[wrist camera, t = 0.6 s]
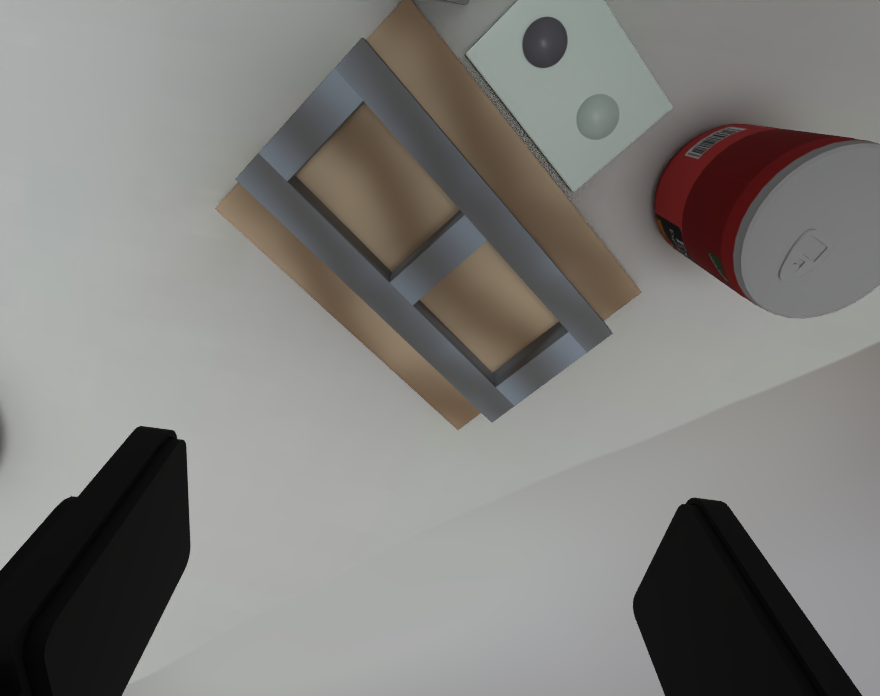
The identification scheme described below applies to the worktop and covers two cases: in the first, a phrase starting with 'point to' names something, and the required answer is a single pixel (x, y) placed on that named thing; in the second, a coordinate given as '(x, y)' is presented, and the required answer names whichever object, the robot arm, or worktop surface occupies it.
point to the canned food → (777, 215)
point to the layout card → (570, 82)
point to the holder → (429, 226)
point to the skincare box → (459, 1)
